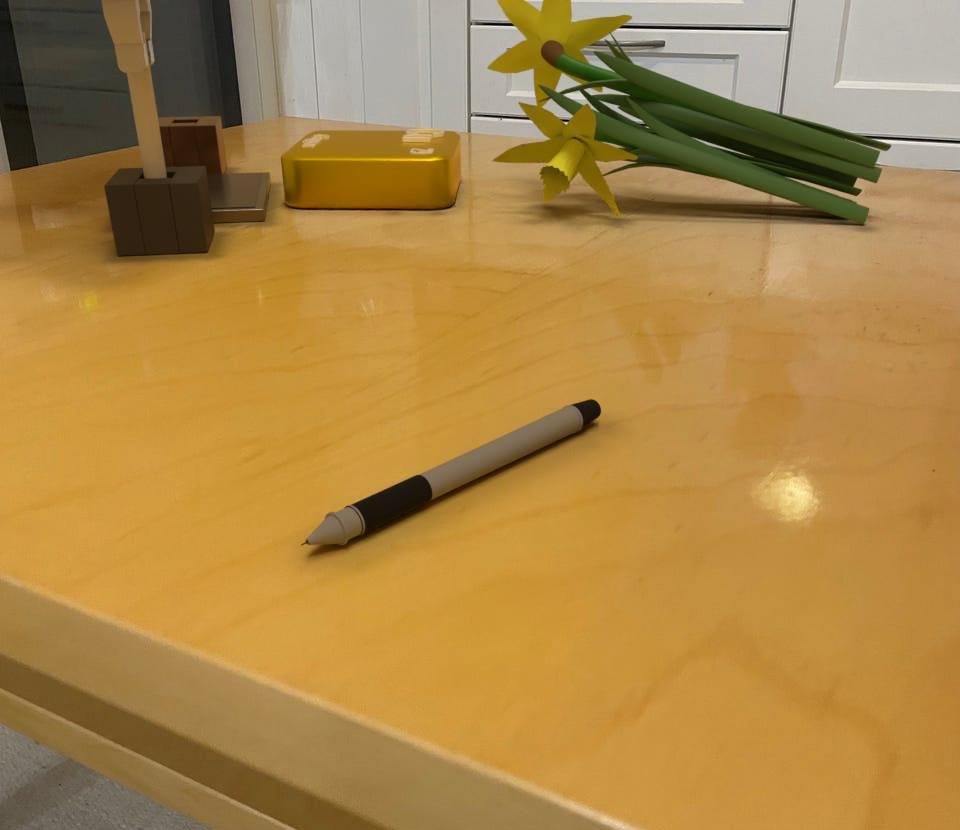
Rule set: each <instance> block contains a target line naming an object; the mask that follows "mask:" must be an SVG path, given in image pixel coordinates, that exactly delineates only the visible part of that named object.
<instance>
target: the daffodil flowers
mask: <svg viewBox="0 0 960 830" xmlns="http://www.w3.org/2000/svg"><path fill="white" fill-rule="evenodd" d="M496 1H497V4H498V6H499V8H500V9H501V10H502V12H503V13H504V15H505V17H506V18H507V20H508V21H509V22H511V24H512V26H514V27H515V28H516V29H517V30H518V31H519V32H520V33H521V35H522V36H524V38H525V39H524V40H521V41H520V42H518V43H517V44H515V45H514V46H512V47H510V48H509V49H507V50H506V51H504V52H503V53H502V54H500V55H498V57H497V58H495V59H494V60H493V61H492V62H490V64H489V65H488V66H487V70H490V71H493V72H497V73H502V74H520V73H523V72H526V71H530V70H533V88H534V95H535V97H534V98H535V103H536V105H535V104H529V103H525V102H522V101H517V102H518V106H519V107H520V108H521V110H522V111H523V112H524V114H525V115H526V117H528V118H529V120H530V121H531V122H532V123H533V124H534V125H535V127H536V128H537V129H538V130H539V131H540V132H541V134H543V135H544V137H546V138H548V139H545V140H543V141H535V142H527V143H522V144H521V143H520V144H518V145H516V146H513V147H510V148H508V149H506V150H505V151H504V152H502V153H500V154H499V155H498V156H496V157H495V158H494V159H492V162H494V163H505V164H545V165H543V167H541V168H540V169H539V171H540V172H539V173H538V175H540V177H539V180H540V181H541V180H542V181H543V182H542V183H543V184H542V185H544V188H543V192H542V202H543V204H547V203H549V202H550V201H551V200H553V199H554V198H556V197H557V196H558V195H559V194H561V193H562V192H564V193H566V192H567V191H569V189H570V186H571V183H572V181H573V180H574V179H575V178H576V177H577V175H578V174H579V175H580V176H581V178H582V179H583V180H584V181H585V182H586V183H587V185H588V186H589V187H590V188H591V189H592V190H593V191H594V192H595V193H596V194H597V195H598V196H599V197H600V198H601V199H602V200H603V201H604V202H605V203H606V204H607V205H608V206H609V208H610V210H611V212H612V213H613V214H614V216H616V217H617V218H618V219H620V220H622V215H621V213H620V211H619V208H618V206H617V203H616V200H615V198H614V196H613V194H612V191H611V189H610V186H609V185H608V183H607V181H606V179H605V177H606V176H609V175H612V174H615V173H618V172H622V171H625V170H628V169H635V168H644V167H649V168H650V167H654V168H662V169H663V168H665V169H669V170H670V169H671V170H675V171H681V172H686V173H691V174H695V175H699V176H705V177H709V178H714V179H718V180H723V181H727V182H730V183H732V184H733V183H734V184H736V185H740V186H742V187H745V188H749V189H752V190H755V191H759V192H760V193H761V192H762V193H765V194H768V195H771V196H774V197H777V198H780V199H783V200H787V201H790V202H793V203H796V204H799V205H801V206H805V207H808V208H812V209H814V210H817V211H821V212H823V213H827V214H830V215H833V216H835V217H838V218H839V217H840V218H842V219H846V220H849V221H852V222H855V223H858V224H861V225H863V226H864V225H865V223H866V221H867V218H868V215H869V212H870V207H868V206H864V205H862V204H858V202H857V201H855V200H852V199H850V198H847V197H843V196H840V195H838V194H835V193H832V192H828V191H827V190H824V189H820V188H818V187H815V186H811V185H808V184H806V183H809V184H813V185H817V186H820V187H823V188H827V189H830V190H833V191H837V192H840V193H843V194H848V195H851V196H854V197H857V196H859V195H860V194H861V193H862V191H863V189H862V188H859V187H855V184H856V183H857V180H858V179H861V180H863V181H866V182H870V183H874V184H877V183H878V181H879V179H880V177H881V174H882V172H883V168H882V167H879V166H876V164H877V162H878V159H879V157H880V154H881V151H883V152H887V151H889V150H890V149H891V148H892V144H891V143H887V142H884V141H881V140H876V139H873V138H870V137H867V136H863V135H859V134H857V133H852V132H849V131H846V130H842V129H838V128H836V127H832V126H829V125H825V124H821V123H818V122H814V121H809V120H806V119H801V118H797V117H794V116H790V115H786V114H783V113H779V112H774V111H771V110H767V109H763V108H759V107H755V106H751V105H746V104H743V103H741V102H738V101H735V100H732V99H729V98H726V97H723V96H722V95H718V94H716V93H713V92H709V91H708V90H704V89H702V88H699V87H696V86H694V85H690V84H689V83H685V82H683V81H680V80H677V79H675V78H672V77H670V76H667V75H665V74H661V73H659V72H656V71H654V70H651V69H648V68H646V67H643V66H641V65H638V64H635V63H634V62H633V61H632V59H631V58H630V57H629V55H628V54H627V53H626V52H625V51H624V50H623V48H622V47H621V44H620V43H619V42H618V40H617V39H616V38H615V36H614V35H613V34H612V33H614V32H615V31H616V30H618V29H619V28H621V27H622V26H624V25H625V24H627V23H628V22H630V21H632V19H633V18H634V17H633V16H632V15H630V14H621V15H620V14H619V15H615V16H601V17H594V18H587V19H581V20H576V21H573V22H572V18H573V13H572V11H573V10H572V0H542V4H541V7H540V9H538V8H536V7H535V6H534V5H532V4H531V3H529V2H528V1H527V0H496ZM609 35H610V36H611V38H612V39H613V42H614V43H615V45H616V46H617V47H615V45H613V44H612V43H611V42H610V41H609V40H607V39H606V37H607V36H609ZM603 39H604V42H605V43H606V46H607V47H608V48H609V50H610V51H611V53H612V54H613V55H610V54H608V53H605V52H602V51H596V50H594V51H593V54H594V55H595V56H596V57H597V58H598V59H599V60H600V61H601V62H602V63H603V64H604V65H605V66H607V67H608V68H609V69H610V70H609V69H606V68H603V67H600V66H597V65H593V64H590V62H589V60H588V59H587V58H586V56H585V54H584V53H583V52H582V51H581V50H583V49H585V48H587V47H589V46H591V45H592V44H595V43H597V42H599V41H600V40H603ZM562 74H563V75H565V76H566V77H568V78H570V79H571V80H573V81H574V82H576V83H577V84H579V85H574V86H572V87H568V88H565V89H563V90H561V91H559V92H558V91H556V89H557V87H558V84H559V82H560V79H561V77H562ZM604 88H606V89H610V90H613V91H615V92H618V93H615V94H614V93H603V92H604V91H603V90H604ZM589 89H591V90H594V91H595V92H598V93H596V94H590V93H589V92H588V91H586V90H589ZM575 92H580V93H581V95H582V96H583V98H585V100H586V101H588V103H585V104H582V103H580V102H578V101H577V100H574V99H572V98H570V97H568V96H567V95H566V94H570V93H571V94H572V93H575ZM619 93H622V94H619ZM550 100H552V101H553V102H554V103H555V104H556V105H558V106H559V107H560V108H561V109H563V110H565V111H566V112H567V113H569V114H570V115H571V118H570V119H569V120H568V122H567V123H565V122H564V121H563V120H561V118H560V117H558V116H557V115H556V114H554V113H553V112H552V111H550V110H548V109H546V108H543V107H544V106H545V105H546V104H547V103H548V102H549V101H550ZM605 103H606V104H610V105H613V106H617V109H619V111H621V112H623V113H625V114H627V115H629V116H631V117H633V118H635V119H638V120H640V121H641V122H642V123H644V125H643V124H641V123H639V122H637V121H635V120H633V119H631V118H629V117H627V116H626V115H623V114H621V113H620V112H618V111H616V110H614V109H612V108H611V107H609V106H608V105H606V104H605ZM591 106H592V107H593V108H594V109H593V108H592V107H591ZM595 109H596V110H595ZM705 142H706V143H705ZM707 143H708V144H707ZM709 144H711V145H709ZM614 145H615V146H614ZM713 145H715V146H713ZM617 146H618V147H617ZM720 147H721V148H720ZM618 161H619V162H620V161H621V162H622V161H623V162H630V163H628V164H626V165H622V166H620V167H617V168H613V169H612V170H610V171H607V172H606V173H602V171H601V169H600V168H599V166H598V164H597V162H600V163H609V162H618ZM800 181H802V182H806V183H802V182H800Z"/></svg>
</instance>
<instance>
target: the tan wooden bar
mask: <svg viewBox="0 0 960 830" xmlns="http://www.w3.org/2000/svg"><path fill="white" fill-rule="evenodd" d="M142 36H143V43H145V46H146V52H147V59H148V67H147V69H146V70H145V71H143V72H141V73H126V76H127V82H128V89H129V95H130V100H131V106H132V113H133V119H134V124H135V130H136V137H137V143H138V148H139V155H140V160H141V166H142V167H141V168H143V173H144V179H153V178H167V173H166V167H165V160H164V154H163V148H162V141H161V135H160V128H159V122H158V117H159V115H158V110H157V104H156V103H157V102H156V96H155V89H154V83H153V78H152V72H151V66H150V64H149V57H148V51H147V45H146V38H145V33H144V32H142Z"/></svg>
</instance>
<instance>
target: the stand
mask: <svg viewBox="0 0 960 830" xmlns="http://www.w3.org/2000/svg"><path fill="white" fill-rule="evenodd" d="M158 122H159V128H160V135H161V141H162V148H163V154H164V160H165V167H188V166H205V167H206V172H207V174H226V170H227V168H228V165H227V164H228V162H227V155H226V147H225V139H224V132H223V123H222V117H221V115H206V116H205V115H204V116H196V115H195V116H162V117H161V116H160V117H159V116H158Z"/></svg>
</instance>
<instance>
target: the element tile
mask: <svg viewBox="0 0 960 830" xmlns="http://www.w3.org/2000/svg"><path fill="white" fill-rule="evenodd" d="M280 164H281V174H282V184H283V195H284V202H285V204H286V205H287V206H289V207H291V208H296V209H321V210H322V209H324V210H325V209H327V210H328V209H329V210H330V209H332V210H333V209H334V210H335V209H336V210H337V209H338V210H339V209H341V210H342V209H343V210H351V209H352V210H441V209H445V208H449V207H451V206H453V205H454V203H455V201H456V197H457V193H458V189H459V185H460V182H461V179H462V137H461V136H460V134H459V133H457V131H454V130H444V129H442V128H433V127H432V128H429V127H423V128H422V127H421V128H419V127H418V128H410V129H406V130H359V129H358V130H351V129H350V130H349V129H347V130H346V129H345V130H344V129H343V130H342V129H337V130H335V129H334V130H333V129H332V130H330V129H326V130H325V129H324V130H323V129H321V130H320V129H319V130H314V131H312V132H310V133H307V134H305V135H304V136H303V137H302V138H301V139H300V140H298V141H297V142H296V143H295V144H294V145H292V146H291V147H289V148H288V150H286V151H285V152H284V153H282V154H281V155H280Z"/></svg>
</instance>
